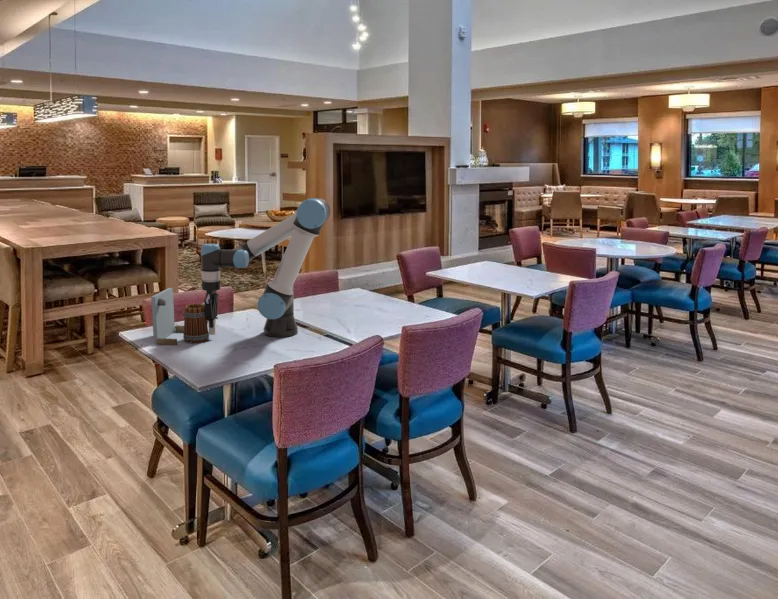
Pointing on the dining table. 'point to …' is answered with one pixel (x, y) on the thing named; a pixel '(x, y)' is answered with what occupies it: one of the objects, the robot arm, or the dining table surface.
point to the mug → (195, 323)
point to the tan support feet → (168, 340)
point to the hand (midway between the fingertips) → (212, 334)
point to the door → (163, 314)
